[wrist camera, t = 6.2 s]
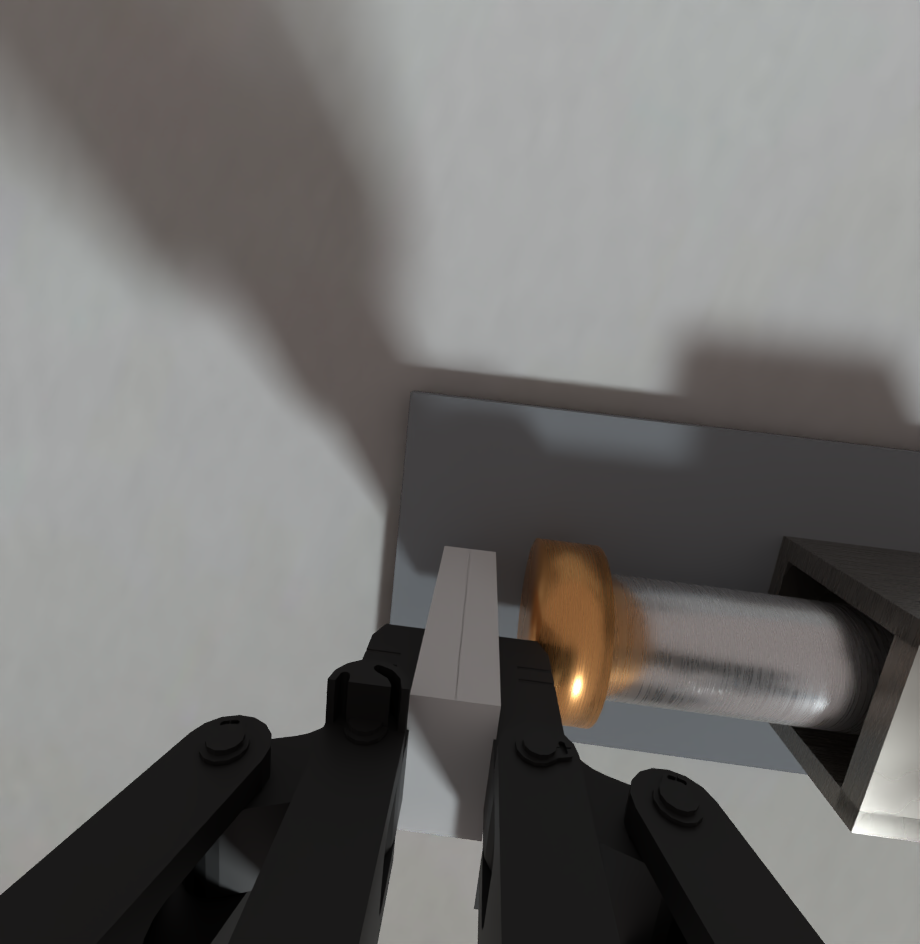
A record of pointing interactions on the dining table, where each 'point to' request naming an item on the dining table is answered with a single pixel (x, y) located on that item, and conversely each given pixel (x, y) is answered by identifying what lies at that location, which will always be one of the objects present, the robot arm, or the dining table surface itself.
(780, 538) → the base mat
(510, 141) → the dining table surface
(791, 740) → the sleeve
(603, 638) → the sliding bolt
